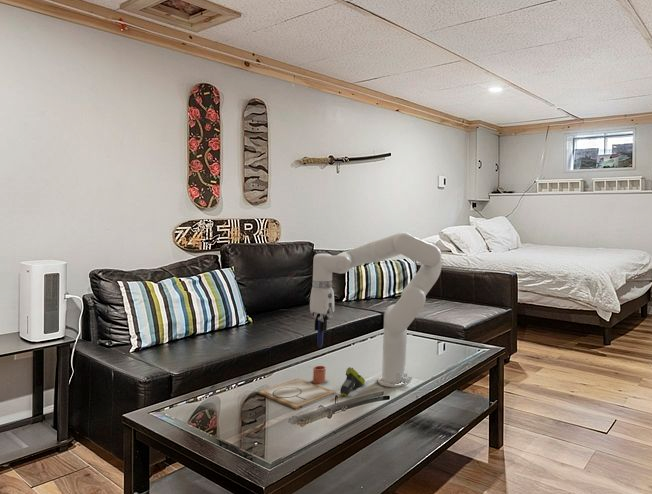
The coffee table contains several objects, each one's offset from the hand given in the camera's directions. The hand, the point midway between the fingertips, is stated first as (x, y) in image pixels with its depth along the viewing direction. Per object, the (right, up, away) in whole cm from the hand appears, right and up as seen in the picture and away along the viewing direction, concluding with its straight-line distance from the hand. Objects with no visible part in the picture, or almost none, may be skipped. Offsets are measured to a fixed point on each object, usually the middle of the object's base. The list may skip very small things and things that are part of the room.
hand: (320, 330), depth 197 cm
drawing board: (-6, -21, -12) cm, 25 cm away
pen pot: (-1, -21, 0) cm, 21 cm away
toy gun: (+14, -22, -8) cm, 27 cm away
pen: (0, -7, 0) cm, 7 cm away
